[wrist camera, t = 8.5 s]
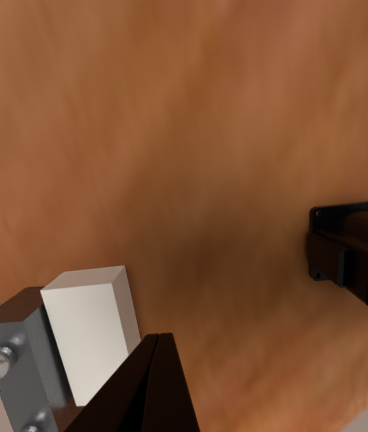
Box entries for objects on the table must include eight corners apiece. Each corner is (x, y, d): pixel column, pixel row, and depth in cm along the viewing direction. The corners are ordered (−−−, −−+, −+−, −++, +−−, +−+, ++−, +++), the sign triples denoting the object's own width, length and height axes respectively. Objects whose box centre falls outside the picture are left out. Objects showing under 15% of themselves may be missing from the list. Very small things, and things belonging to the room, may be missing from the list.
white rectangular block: (125, 263, 20) (111, 283, 16) (147, 367, 22) (139, 402, 19) (65, 270, 20) (40, 290, 17) (94, 370, 23) (76, 406, 19)
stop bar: (64, 284, 20) (11, 331, 14) (94, 398, 23) (60, 475, 17) (25, 287, 21) (-42, 335, 15) (59, 399, 24) (15, 476, 18)
